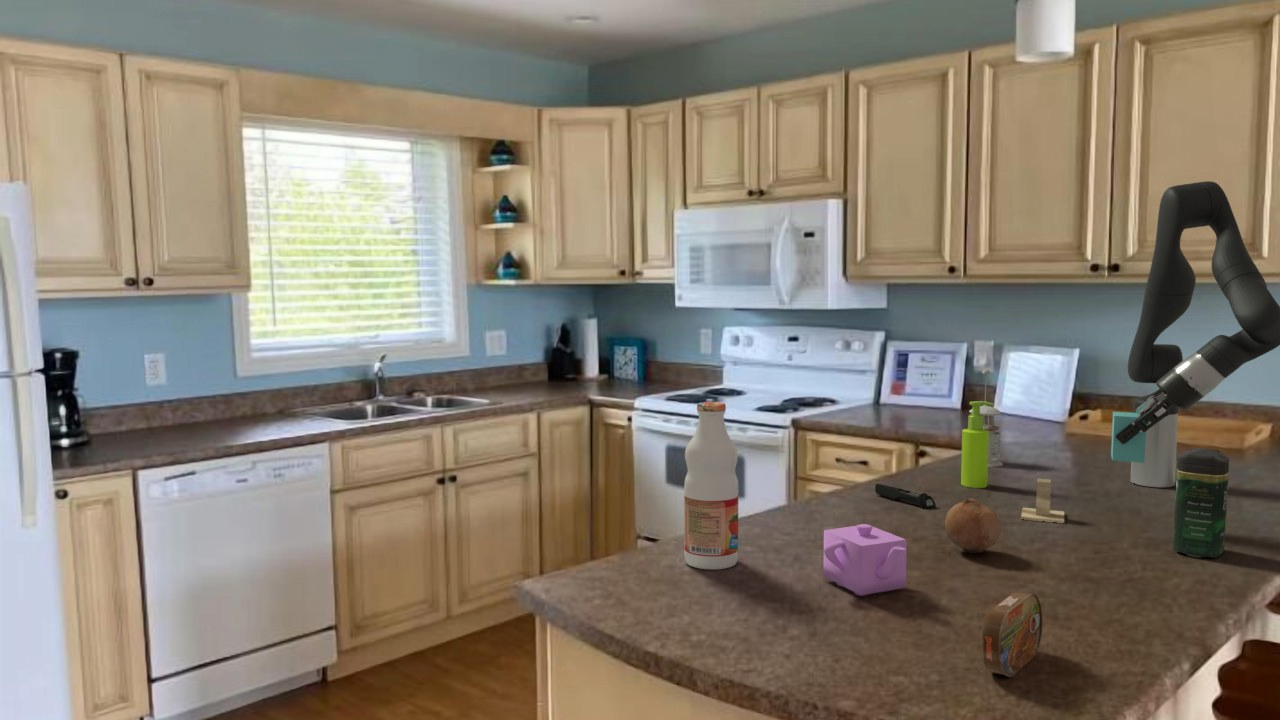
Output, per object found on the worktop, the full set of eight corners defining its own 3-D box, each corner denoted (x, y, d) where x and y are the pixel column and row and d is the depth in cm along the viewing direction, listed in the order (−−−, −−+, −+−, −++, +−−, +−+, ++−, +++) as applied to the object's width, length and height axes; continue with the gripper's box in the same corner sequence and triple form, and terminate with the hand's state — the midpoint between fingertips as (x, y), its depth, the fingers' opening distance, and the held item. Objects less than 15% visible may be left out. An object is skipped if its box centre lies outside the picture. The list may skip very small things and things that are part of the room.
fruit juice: (678, 556, 165) (677, 400, 163) (728, 552, 167) (728, 399, 165) (692, 572, 156) (692, 408, 153) (745, 568, 158) (746, 406, 156)
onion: (937, 545, 171) (939, 492, 170) (989, 545, 171) (990, 492, 170) (953, 560, 162) (955, 504, 161) (1008, 561, 161) (1009, 504, 160)
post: (1022, 510, 196) (1023, 475, 195) (1064, 514, 193) (1065, 478, 192) (1020, 519, 189) (1022, 482, 188) (1064, 523, 185) (1065, 486, 185)
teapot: (937, 600, 142) (938, 536, 141) (862, 614, 137) (863, 547, 136) (864, 567, 159) (865, 509, 158) (795, 578, 153) (796, 518, 152)
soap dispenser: (993, 488, 216) (996, 403, 214) (962, 487, 217) (965, 403, 215) (989, 483, 222) (992, 400, 220) (959, 482, 223) (961, 399, 221)
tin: (1001, 686, 112) (1003, 619, 112) (976, 679, 115) (978, 613, 114) (1044, 649, 124) (1046, 587, 123) (1020, 643, 126) (1022, 582, 125)
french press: (963, 465, 243) (965, 370, 241) (965, 457, 254) (967, 366, 251) (1003, 467, 239) (1006, 371, 237) (1003, 459, 250) (1006, 367, 248)
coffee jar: (1221, 562, 160) (1226, 456, 158) (1168, 554, 165) (1173, 451, 163) (1227, 549, 168) (1232, 448, 166) (1177, 541, 172) (1182, 443, 171)
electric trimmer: (882, 495, 212) (882, 481, 212) (937, 508, 199) (937, 493, 199) (871, 497, 210) (871, 483, 210) (925, 510, 197) (925, 496, 197)
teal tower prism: (1111, 455, 189) (1113, 411, 188) (1142, 457, 187) (1144, 413, 186) (1112, 460, 184) (1114, 415, 183) (1144, 462, 181) (1146, 417, 181)
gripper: (1171, 363, 187) (1102, 418, 193) (1179, 371, 174) (1105, 429, 180) (1200, 390, 185) (1130, 445, 191) (1210, 400, 172) (1135, 458, 178)
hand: (1118, 437), depth 185 cm, fingers closed on teal tower prism, 5 cm apart
